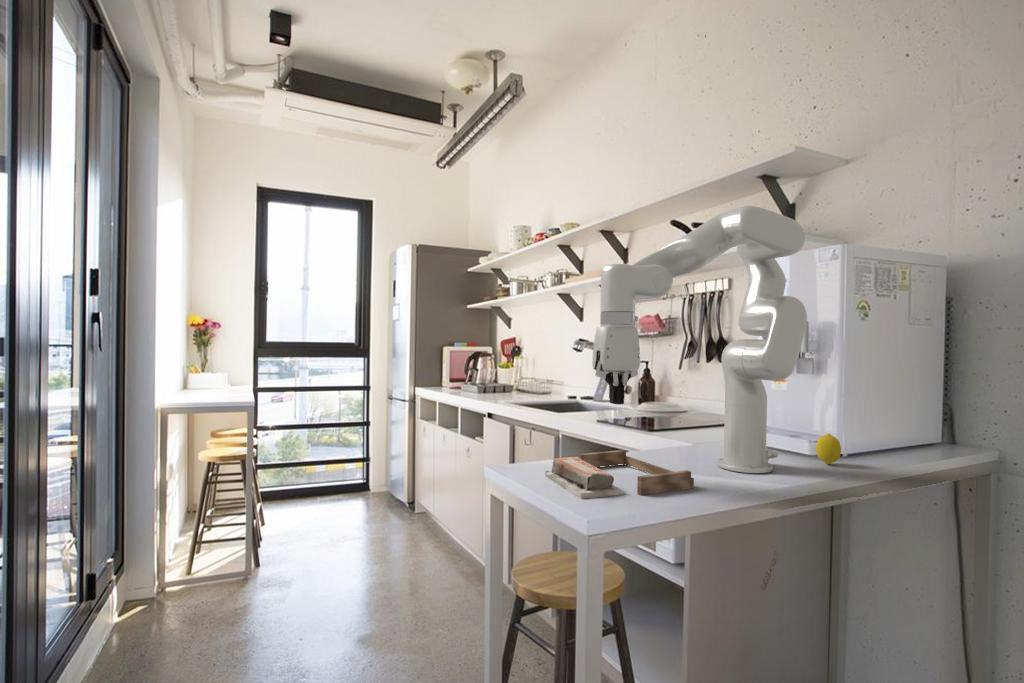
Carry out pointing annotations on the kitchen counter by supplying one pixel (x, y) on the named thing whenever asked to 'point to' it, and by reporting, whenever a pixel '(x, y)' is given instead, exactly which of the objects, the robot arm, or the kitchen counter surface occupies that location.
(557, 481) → the packaged product
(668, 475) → the wooden rolling pin rack
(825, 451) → the lemon
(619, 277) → the robot arm
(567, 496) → the kitchen counter surface
